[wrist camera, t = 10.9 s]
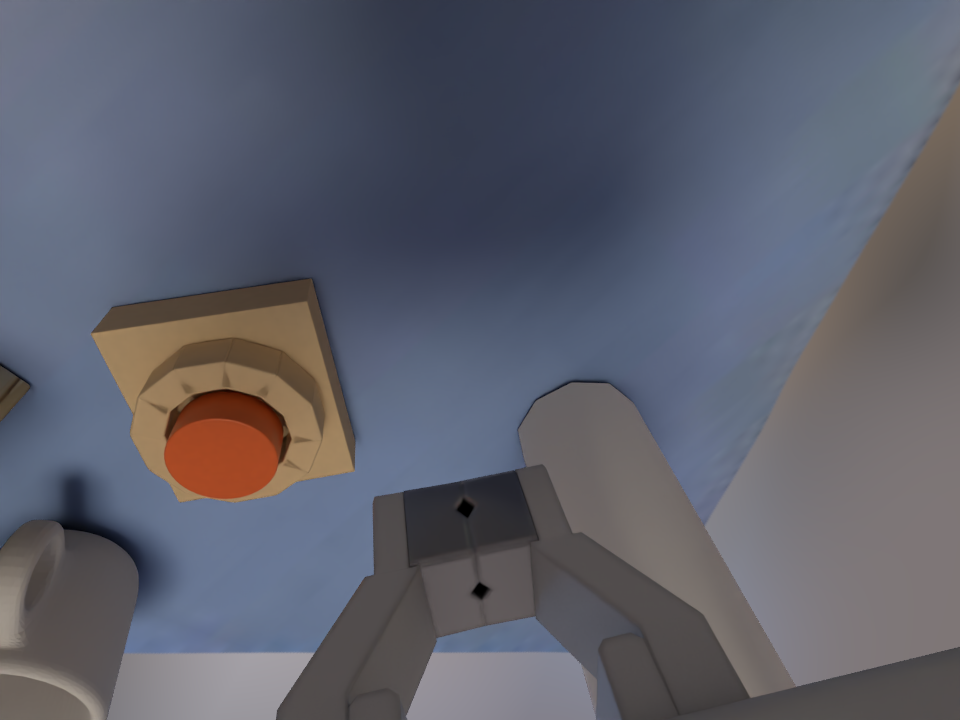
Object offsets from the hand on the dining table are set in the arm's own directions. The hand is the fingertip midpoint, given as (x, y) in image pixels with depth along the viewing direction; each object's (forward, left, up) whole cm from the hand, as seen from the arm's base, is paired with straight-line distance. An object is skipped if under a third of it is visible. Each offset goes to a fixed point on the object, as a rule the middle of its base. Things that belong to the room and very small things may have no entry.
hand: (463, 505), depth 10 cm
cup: (+14, -19, -16) cm, 29 cm away
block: (+6, -8, -16) cm, 19 cm away
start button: (+6, -8, -12) cm, 16 cm away
